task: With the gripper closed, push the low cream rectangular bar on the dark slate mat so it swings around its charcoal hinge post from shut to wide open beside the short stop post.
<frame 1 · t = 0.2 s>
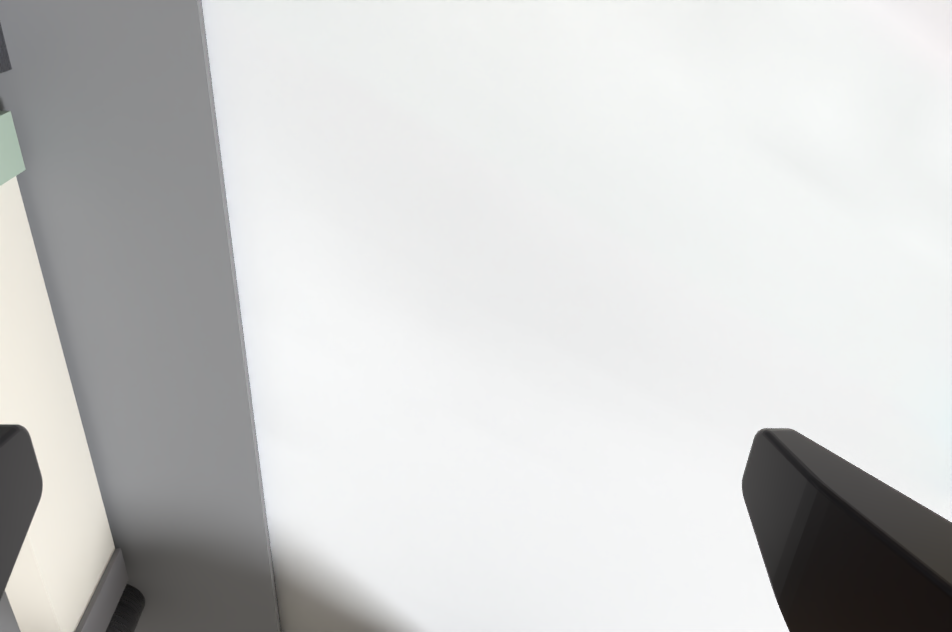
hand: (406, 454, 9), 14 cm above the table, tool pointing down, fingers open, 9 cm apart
gate posts: (122, 591, 29), resting on mat
cream rectangular bar: (13, 437, 21), point 3 cm above the table, hinge at 0.0°
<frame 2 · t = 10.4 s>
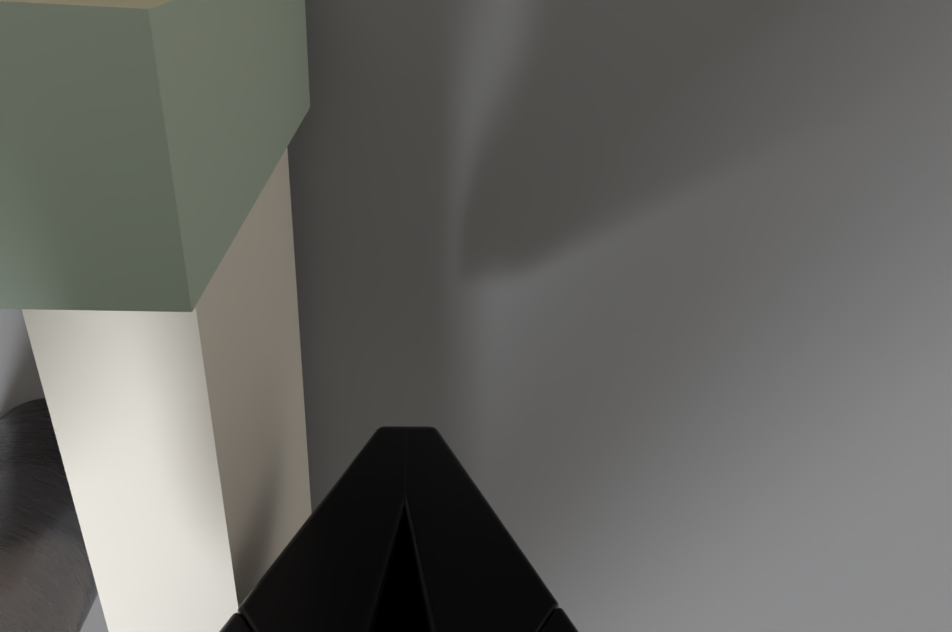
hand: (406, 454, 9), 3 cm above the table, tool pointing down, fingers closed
mat: (749, 618, 15), on the table
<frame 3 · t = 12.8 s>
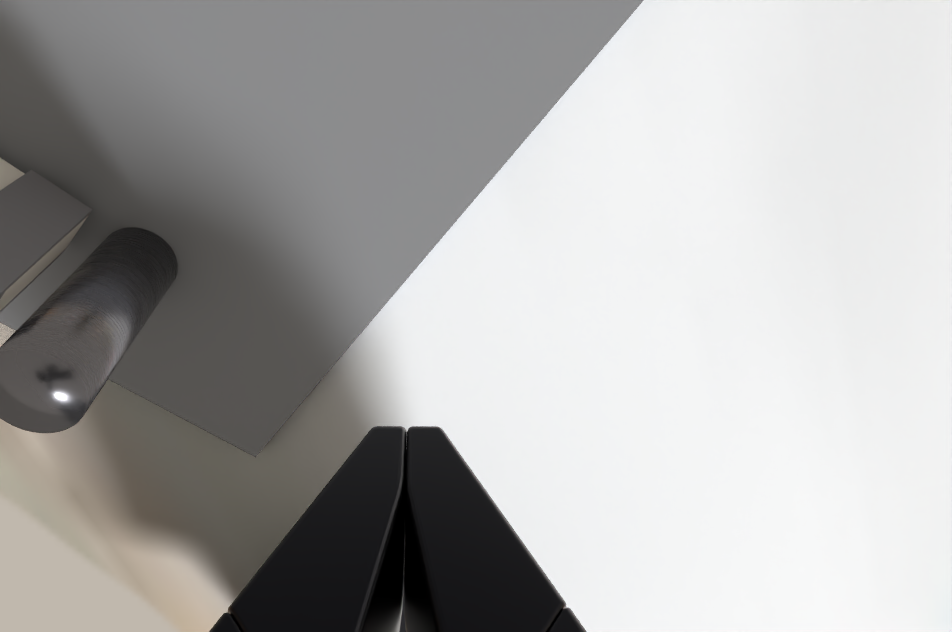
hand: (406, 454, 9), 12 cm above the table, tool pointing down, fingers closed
gate posts: (144, 255, 20), resting on mat
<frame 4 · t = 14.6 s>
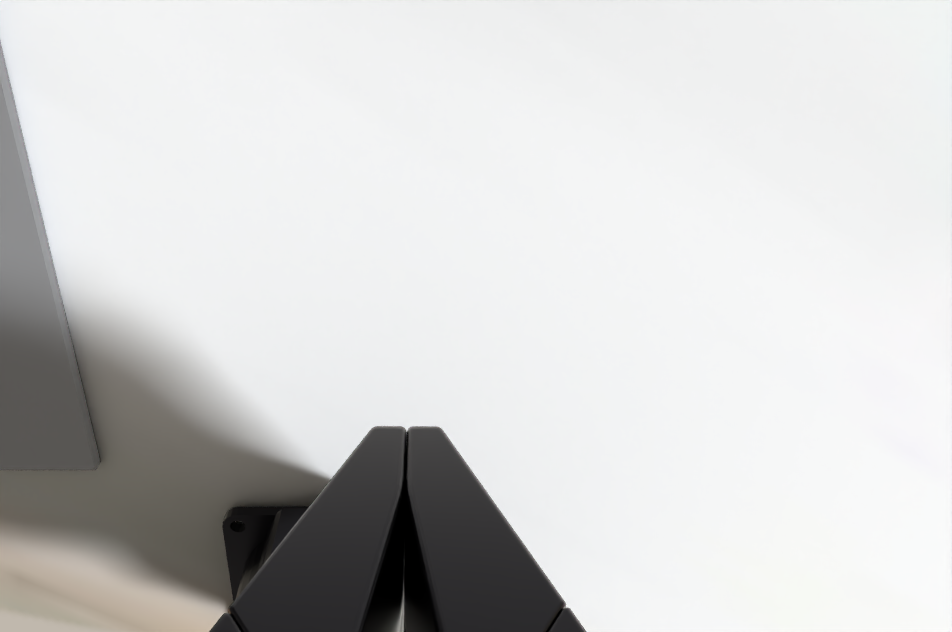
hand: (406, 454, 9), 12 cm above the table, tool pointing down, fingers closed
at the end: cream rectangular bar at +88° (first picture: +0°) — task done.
